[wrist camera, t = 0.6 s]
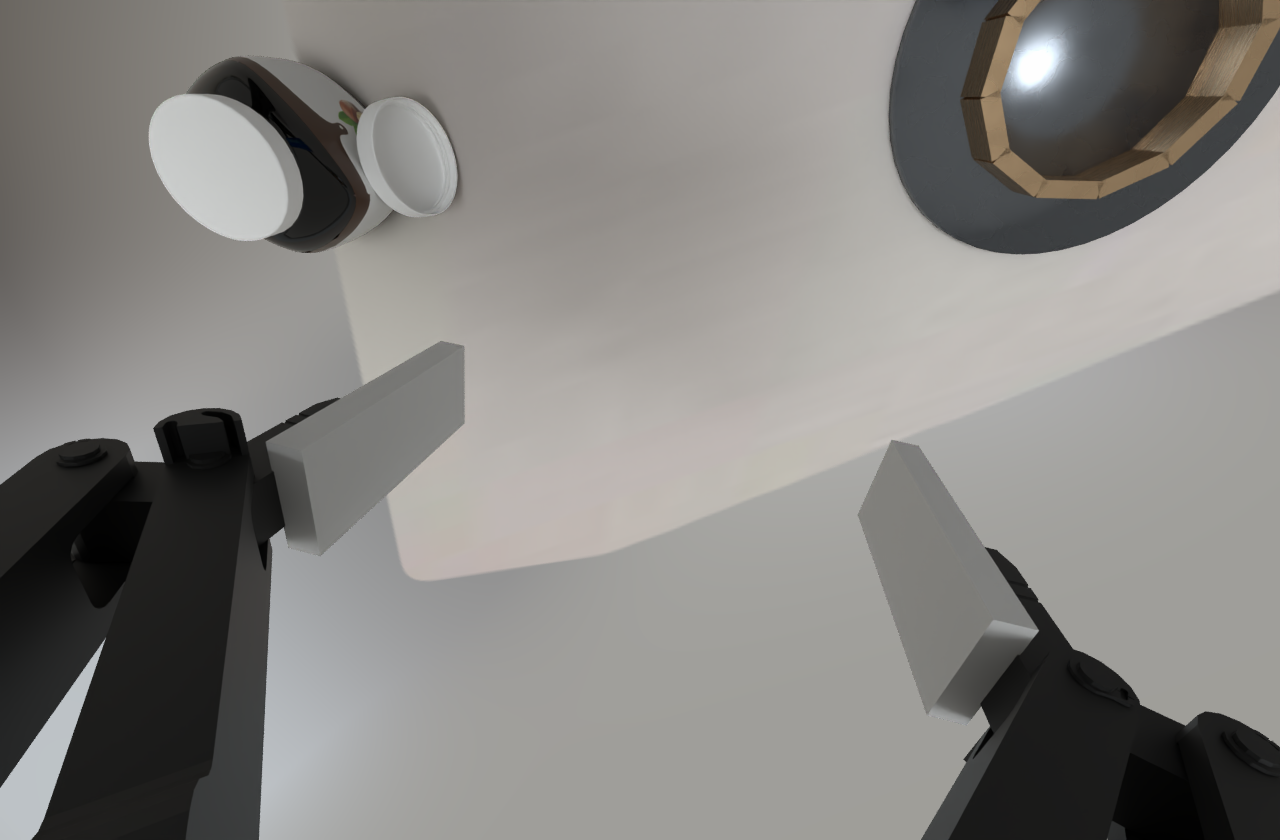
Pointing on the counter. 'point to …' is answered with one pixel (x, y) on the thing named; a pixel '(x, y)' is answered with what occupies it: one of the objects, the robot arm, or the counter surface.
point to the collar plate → (1071, 110)
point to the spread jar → (297, 155)
